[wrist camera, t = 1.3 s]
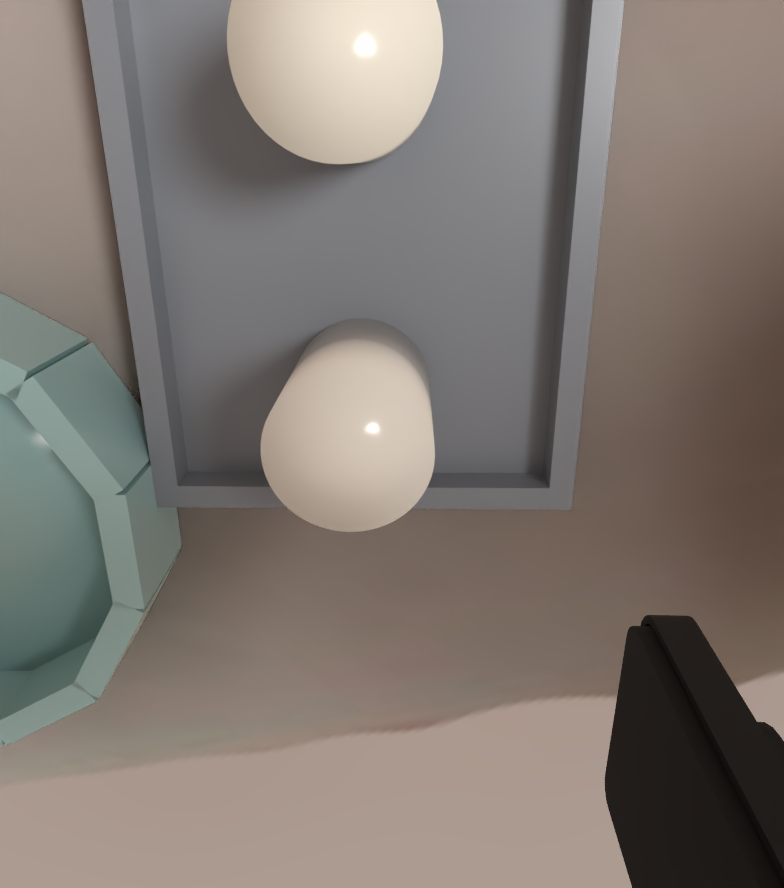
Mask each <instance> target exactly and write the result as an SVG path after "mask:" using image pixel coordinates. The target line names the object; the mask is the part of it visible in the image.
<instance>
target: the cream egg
mask: <svg viewBox="0 0 784 888" xmlns="http://www.w3.org/2000/svg"><path fill="white" fill-rule="evenodd" d="M261 460H262V466H263V469H264V473H265V476H266V478H267V480H268V483H269V485H270V486H271V488H272V490H273V491H274V493H275V494H276V496H277V497H278V498H279V499H280V501H281V502H282V503H283V504H284V505H285V506H286V507H287V508H288V509H289V510H291V511H292V512H293V513H295V514H296V515H297V516H299V517H300V518H302V519H304V520H306V521H307V522H309V523H312V524H314V525H316V526H319V527H322V528H325V529H329V530H335V531H342V532H361V531H367V530H372V529H376V528H379V527H382V526H385V525H387V524H389V523H392V522H393V521H395V520H397V519H398V518H400V517H402V516H403V515H404V514H405V513H407V512H408V511H409V510H410V509H411V508H412V507H413V506H414V505H415V504H416V503H417V502H418V501H419V499H420V498H421V497H422V495H423V494H424V492H425V490H426V488H427V487H428V484H429V482H430V479H431V477H432V473H433V469H434V462H435V445H434V434H433V422H432V410H431V399H430V387H429V376H428V371H427V366H426V363H425V360H424V358H423V356H422V354H421V352H420V351H419V349H418V348H417V346H416V345H415V344H414V343H413V341H412V340H411V339H410V338H409V337H408V336H407V335H405V334H404V333H403V332H402V331H400V330H399V329H397V328H395V327H393V326H391V325H389V324H387V323H384V322H381V321H378V320H373V319H362V318H360V319H350V320H345V321H341V322H338V323H335V324H333V325H331V326H329V327H327V328H326V329H324V330H323V331H321V332H320V333H319V334H318V335H317V336H315V337H314V338H313V339H312V341H311V342H310V343H309V344H308V346H307V347H306V349H305V350H304V352H303V354H302V356H301V357H300V359H299V361H298V363H297V365H296V366H295V368H294V370H293V372H292V374H291V375H290V377H289V379H288V381H287V383H286V384H285V386H284V388H283V390H282V392H281V393H280V395H279V397H278V399H277V401H276V402H275V404H274V406H273V408H272V410H271V411H270V413H269V415H268V418H267V420H266V422H265V425H264V428H263V432H262V437H261Z"/></svg>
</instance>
